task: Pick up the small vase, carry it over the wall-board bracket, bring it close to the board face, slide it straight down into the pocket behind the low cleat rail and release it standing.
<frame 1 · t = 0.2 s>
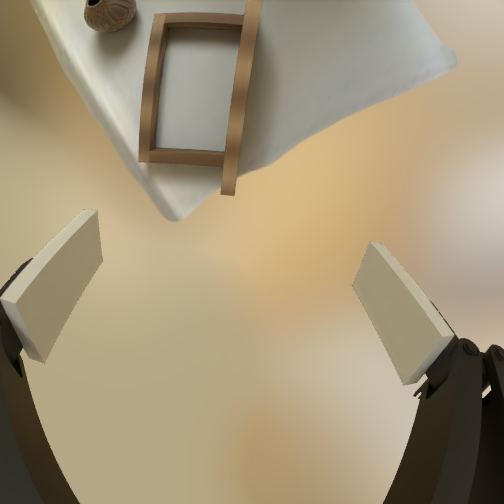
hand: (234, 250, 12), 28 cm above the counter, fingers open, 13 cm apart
vase: (120, 16, 24), on the counter
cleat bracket: (196, 86, 31), on the counter
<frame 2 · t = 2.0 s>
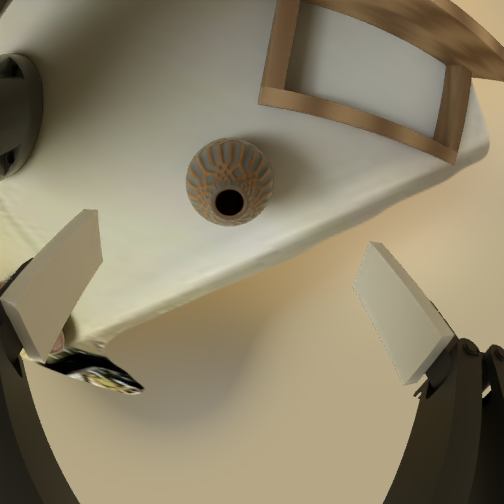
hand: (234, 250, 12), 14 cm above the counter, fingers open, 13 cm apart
vase: (229, 169, 25), on the counter
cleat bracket: (376, 70, 20), on the counter
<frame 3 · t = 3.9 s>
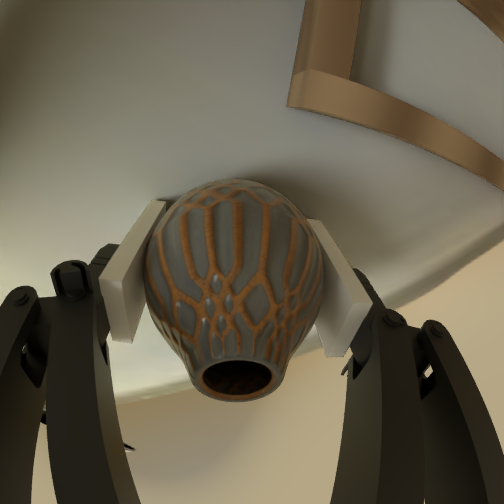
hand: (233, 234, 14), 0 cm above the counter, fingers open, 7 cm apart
vase: (232, 228, 14), on the counter, touching gripper
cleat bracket: (467, 68, 9), on the counter
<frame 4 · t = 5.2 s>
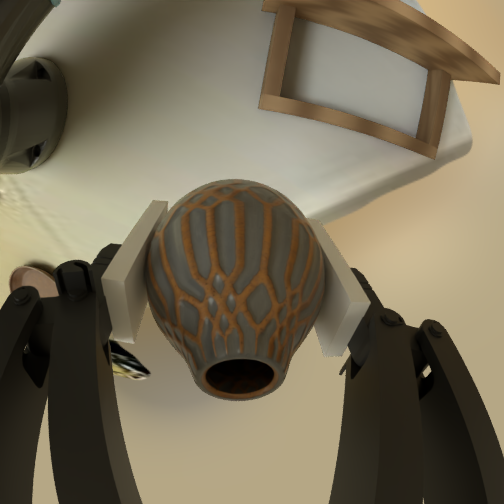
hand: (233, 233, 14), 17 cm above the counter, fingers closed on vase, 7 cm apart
vase: (233, 228, 14), point 16 cm above the counter, touching gripper
saucer: (47, 295, 36), on the counter
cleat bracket: (361, 77, 24), on the counter
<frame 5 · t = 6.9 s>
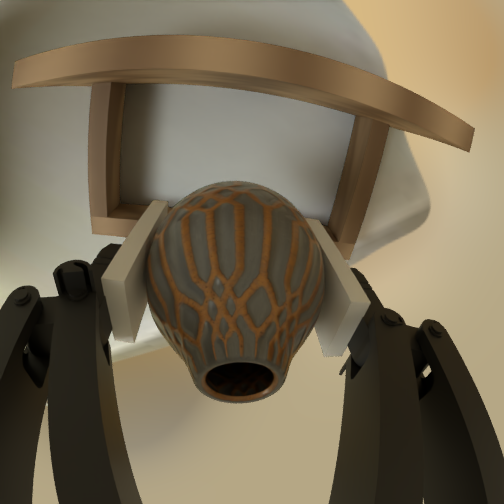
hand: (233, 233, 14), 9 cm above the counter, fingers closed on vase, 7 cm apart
vase: (233, 230, 14), point 8 cm above the counter, touching gripper
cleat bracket: (233, 153, 20), on the counter
when the fingers open (2 cm above the counter, at t = 9.5 s): vase drops 2 cm, resting in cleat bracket.
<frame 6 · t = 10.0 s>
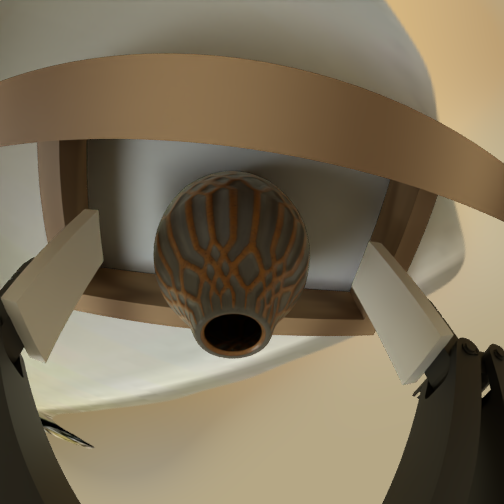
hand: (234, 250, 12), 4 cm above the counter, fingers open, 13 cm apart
vase: (231, 216, 16), resting in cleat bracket
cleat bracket: (234, 209, 15), on the counter
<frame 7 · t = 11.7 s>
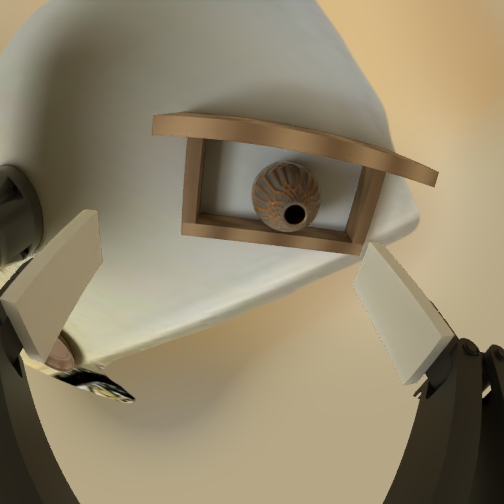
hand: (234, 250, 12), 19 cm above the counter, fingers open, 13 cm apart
vase: (281, 185, 31), resting in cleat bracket
saucer: (50, 339, 44), on the counter
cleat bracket: (283, 182, 30), on the counter
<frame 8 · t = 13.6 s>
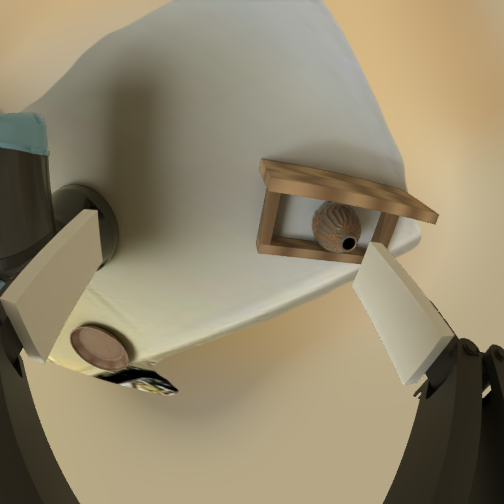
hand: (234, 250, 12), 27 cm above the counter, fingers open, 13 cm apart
vase: (328, 216, 42), resting in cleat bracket
saucer: (101, 342, 53), on the counter
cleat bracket: (330, 214, 41), on the counter
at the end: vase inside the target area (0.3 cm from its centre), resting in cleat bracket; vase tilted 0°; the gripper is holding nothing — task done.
